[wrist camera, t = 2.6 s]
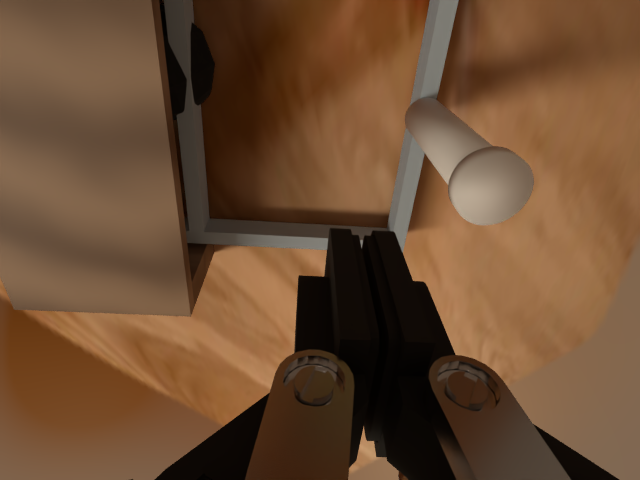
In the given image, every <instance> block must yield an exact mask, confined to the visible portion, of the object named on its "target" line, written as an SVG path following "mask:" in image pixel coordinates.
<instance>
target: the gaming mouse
mask: <svg viewBox="0 0 640 480" xmlns="http://www.w3.org/2000/svg"><path fill="white" fill-rule="evenodd" d="M160 14H161V22H162V31H163V39H164V48H165V57H166V65H167V74H168V82H169V91H170V100H171V108H172V117H173V120H176V119H177V115H178V114H180V113H183V112H184V109H185V99H186V88H187V78H186V76H185V74H184V72H183V70H182V68H181V66H180V64H179V62H178V60H177V58H176V56H175V54H174V52H173V50H172V48H171V46H170V44H169V42H168V33H167V24H166V15H165V6H164V5H160ZM190 39H191V83H192V90H193V97H194V103H195V104H196V105H197V106H199V105H200V104H202V103H203V102H204V101H205V100H206V98H207V97H208V96H209V95H210V92H211V89H212V81H213V73H214V65H215V63H214V61H213V58H212V55H211V53H210V50H209V48H208V45H207V42H206V40H205V37H204V35H203V32H202V31H201V30H200V29H199V28H198V27H197V26H196V25H195V24H194V23H192V24H191V32H190Z"/></svg>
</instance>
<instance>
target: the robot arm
mask: <svg viewBox="0 0 640 480" xmlns="http://www.w3.org/2000/svg"><path fill="white" fill-rule="evenodd" d="M363 426H364V429H365V436H366V440H367V441H374V444H375V450H376V457H387V461H388V462H389V463H390V464H392V465H393V466H394V467H395V468H396V469H397V470H398V471H399V474H398V477H399V480H619V479H617V478H616V477H614V476H613V475H611V474H610V473H608V472H607V471H605V470H604V469H602V468H600V467H599V466H597V465H596V464H594V463H593V462H591V461H590V460H588V459H587V458H585V457H583V456H582V455H580V454H579V453H577V452H576V451H574V450H573V449H571V448H569V447H568V446H566V445H565V444H563V443H562V442H560V441H559V440H557V439H556V438H554V437H553V436H551V435H549V434H548V433H546V432H545V431H543V430H542V429H540V428H539V427H537V426H535V425H534V424H532V422H531V421H530V419H529V418H528V416H527V415H526V413H525V412H524V410H523V409H522V407H521V406H520V405H519V403H518V402H517V400H516V399H515V397H514V396H513V395H512V393H511V392H510V390H509V389H508V387H507V386H506V384H505V383H504V381H503V380H502V379H501V378H500V377H499V376H498V374H497V373H496V372H495V371H493V370H492V369H491V368H489V367H488V366H487V365H485V364H483V363H481V362H479V361H477V360H475V359H473V358H469V357H465V356H460V355H455V353H454V350H453V348H452V345H451V343H450V340H449V338H448V336H447V333H446V331H445V328H444V326H443V324H442V321H441V319H440V316H439V314H438V311H437V309H436V307H435V304H434V302H433V299H432V297H431V294H430V292H429V290H428V287H427V285H426V284H425V283H424V282H419V281H413V280H412V277H411V274H410V272H409V269H408V266H407V264H406V261H405V258H404V256H403V253H402V250H401V247H400V245H399V242H398V239H397V237H396V234H395V232H393V231H377V230H373V231H372V233H371V236H369V235H365V236H364V238H363V244H362V248H361V243H360V238H359V235H352V231H351V229H341V228H330V229H329V236H328V246H327V256H326V266H325V276H324V277H319V276H299V278H298V294H297V311H296V331H295V352H294V354H292V355H290V356H288V357H287V358H286V359H285V360H284V361H283V362H282V363H280V365H279V367H278V369H277V371H276V373H275V376H274V380H273V383H272V387H271V390H270V393H269V394H267V395H266V396H264V397H263V398H262V399H260V400H259V401H258V402H256V403H255V404H254V405H252V406H251V407H250V408H248V409H247V410H245V411H244V412H243V413H241V414H240V415H239V416H237V417H236V418H235V419H233V420H232V421H231V422H229V423H228V424H226V425H225V426H224V427H222V428H221V429H220V430H218V431H217V432H216V433H214V434H213V435H212V436H210V437H209V438H207V439H206V440H205V441H204V442H202V443H201V444H199V445H198V446H197V447H195V448H194V449H193V450H191V451H190V452H189V453H187V454H186V455H184V456H183V457H182V458H180V459H179V460H178V461H176V462H175V463H174V464H172V465H171V466H170V467H168V468H167V469H166V470H165V471H163V472H162V473H161V474H160V475H159V476H158V477H157V478H156V479H155V480H348V474H349V467H350V466H351V465H352V464H353V463H354V462H355V461H356V459H357V454H358V450H359V445H360V440H361V436H362V431H363ZM131 480H133V479H131Z"/></svg>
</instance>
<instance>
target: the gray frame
mask: <svg viewBox="0 0 640 480" xmlns="http://www.w3.org/2000/svg"><path fill="white" fill-rule="evenodd" d="M458 1H459V0H430V3H429V8H428V13H427V19H426V24H425V29H424V35H423V40H422V45H421V50H420V56H419V61H418V66H417V71H416V77H415V82H414V87H413V93H412V98H411V103H410V107H409V108H408V110H407V112H406V115H405V125H406V130H405V135H404V140H403V145H402V151H401V156H400V161H399V167H398V172H397V177H396V182H395V188H394V193H393V198H392V204H391V209H390V214H389V219H388V225H387V228H377V227H359V226H340V225H322V224H303V223H285V222H267V221H248V220H230V219H211V218H210V216H209V203H208V190H207V178H206V165H205V152H204V139H203V126H202V114H201V104H200V105H199V106H197V105H196V104H195V103H194V97H193V90H192V83H191V39H190V32H191V24H192V23H194V12H193V0H164V6H165V15H166V24H167V33H168V42H169V44H170V46H171V48H172V50H173V52H174V54H175V56H176V58H177V60H178V62H179V64H180V66H181V68H182V70H183V72H184V74H185V76H186V78H187V88H186V99H185V109H184V112H183V113H180V114H178V115H177V124H178V133H179V142H180V151H181V160H182V169H183V178H184V187H185V196H186V205H187V214H188V217H184V220H185V229H186V237H187V243H198V244H218V245H238V246H258V247H278V248H297V249H317V250H327V246H328V236H329V229H330V228H341V229H351V231H352V235H359V238H360V243H361V248H362V244H363V238H364V236H365V235H369V236H371V233H372V231H373V230H377V231H393V232H395V234H396V237H397V239H398V242H399V245H400V247H401V250H402V253H403V249H404V244H405V240H406V235H407V231H408V226H409V222H410V217H411V213H412V208H413V204H414V199H415V195H416V190H417V186H418V181H419V177H420V172H421V168H422V163H423V159H424V154H426V156H427V157H428V158H429V160H430V161H431V162H432V164H433V165H434V166H435V168H436V169H437V171H438V172H439V173H440V175H441V176H442V177H443V179H444V180H445V182H446V183H447V184H448V194H449V198H450V200H451V202H452V204H453V205H454V207H455V208H456V210H457V211H458V213H459V214H460V215H461V216H462V217H463V218H464V219H465V220H467V221H468V222H471V223H473V224H477V225H493V224H497V223H500V222H503V221H505V220H507V219H509V218H511V217H512V216H514V215H515V214H516V213H517V212H519V211H520V210H521V209H522V208H523V206H524V205H525V204H526V202H527V201H528V199H529V197H530V195H531V193H532V190H533V185H534V178H533V173H532V170H531V168H530V166H529V165H528V164H527V163H526V162H525V161H524V160H523V159H522V158H521V157H519V156H518V155H517V154H515V153H514V152H513V151H511V150H509V149H507V148H503V147H497V146H492V145H491V144H490V143H488V142H487V141H486V140H485V139H484V138H482V137H481V136H480V135H479V134H478V133H476V132H475V131H474V130H473V129H472V128H470V127H469V126H468V125H467V124H465V123H464V122H463V121H462V120H461V119H459V118H458V117H457V116H456V115H455V114H453V113H452V112H451V111H450V110H448V109H447V108H446V107H445V106H444V105H442V104H441V103H440V102H439V101H437V95H438V91H439V86H440V82H441V77H442V73H443V68H444V64H445V59H446V55H447V50H448V46H449V41H450V37H451V32H452V28H453V23H454V19H455V14H456V10H457V5H458Z"/></svg>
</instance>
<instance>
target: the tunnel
mask: <svg viewBox="0 0 640 480" xmlns="http://www.w3.org/2000/svg"><path fill="white" fill-rule="evenodd" d="M213 254H214V245H213V244H198V243H187V237H186V229H185V220H184V211H183V203H182V194H181V186H180V177H179V168H178V160H177V151H176V143H175V134H174V125H173V117H172V108H171V100H170V91H169V82H168V74H167V65H166V57H165V48H164V39H163V31H162V22H161V14H160V5H159V0H0V277H1V280H2V282H3V284H4V287H5V289H6V291H7V294H8V296H9V298H10V301H11V303H12V305H13V308H14V309H15V310H39V311H65V312H90V313H115V314H141V315H166V316H191V314H192V312H193V309H194V306H195V304H196V301H197V298H198V295H199V293H200V290H201V287H202V284H203V282H204V279H205V276H206V273H207V271H208V268H209V265H210V262H211V260H212V257H213Z"/></svg>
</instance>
